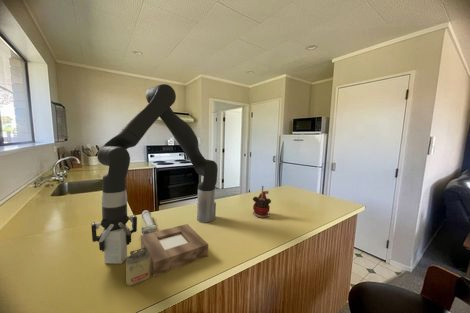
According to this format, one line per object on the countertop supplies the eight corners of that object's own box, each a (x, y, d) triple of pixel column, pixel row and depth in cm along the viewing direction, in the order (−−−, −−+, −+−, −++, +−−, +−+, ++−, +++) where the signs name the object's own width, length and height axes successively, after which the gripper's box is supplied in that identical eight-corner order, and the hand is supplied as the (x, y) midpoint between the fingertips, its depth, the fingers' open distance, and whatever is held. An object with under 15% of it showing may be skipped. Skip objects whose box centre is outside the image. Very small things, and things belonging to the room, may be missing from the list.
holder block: (187, 234, 92) (187, 223, 91) (207, 256, 76) (208, 244, 75) (140, 247, 80) (140, 235, 79) (153, 276, 64) (153, 262, 63)
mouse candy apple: (250, 216, 115) (252, 186, 113) (254, 211, 124) (255, 183, 122) (268, 219, 111) (270, 189, 109) (270, 213, 120) (272, 185, 118)
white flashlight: (149, 217, 109) (159, 236, 88) (136, 219, 105) (143, 240, 84) (149, 208, 108) (159, 225, 87) (136, 210, 105) (143, 228, 84)
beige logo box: (127, 287, 59) (126, 256, 58) (124, 280, 62) (124, 250, 61) (151, 277, 63) (151, 248, 62) (148, 271, 66) (148, 243, 65)
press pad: (180, 236, 84) (180, 234, 84) (189, 246, 76) (189, 244, 76) (158, 242, 78) (158, 240, 78) (165, 254, 71) (165, 251, 71)
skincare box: (127, 256, 73) (127, 226, 72) (121, 264, 69) (120, 231, 68) (111, 256, 73) (110, 225, 72) (103, 263, 69) (102, 231, 68)
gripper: (135, 196, 76) (135, 237, 78) (89, 203, 67) (90, 248, 69) (139, 202, 70) (139, 246, 72) (89, 210, 61) (91, 259, 63)
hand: (115, 246), depth 70 cm, fingers closed on skincare box, 7 cm apart
